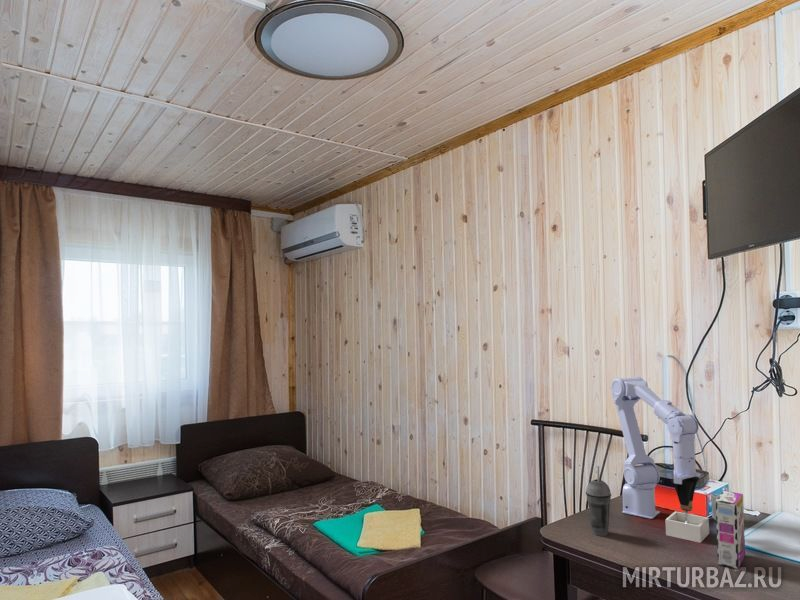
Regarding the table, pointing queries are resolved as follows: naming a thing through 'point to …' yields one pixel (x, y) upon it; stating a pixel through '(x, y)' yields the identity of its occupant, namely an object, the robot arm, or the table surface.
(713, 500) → the skincare box
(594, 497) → the beverage cup
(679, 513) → the white framed panel box
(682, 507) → the plunger
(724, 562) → the pink printed carton
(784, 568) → the table surface
